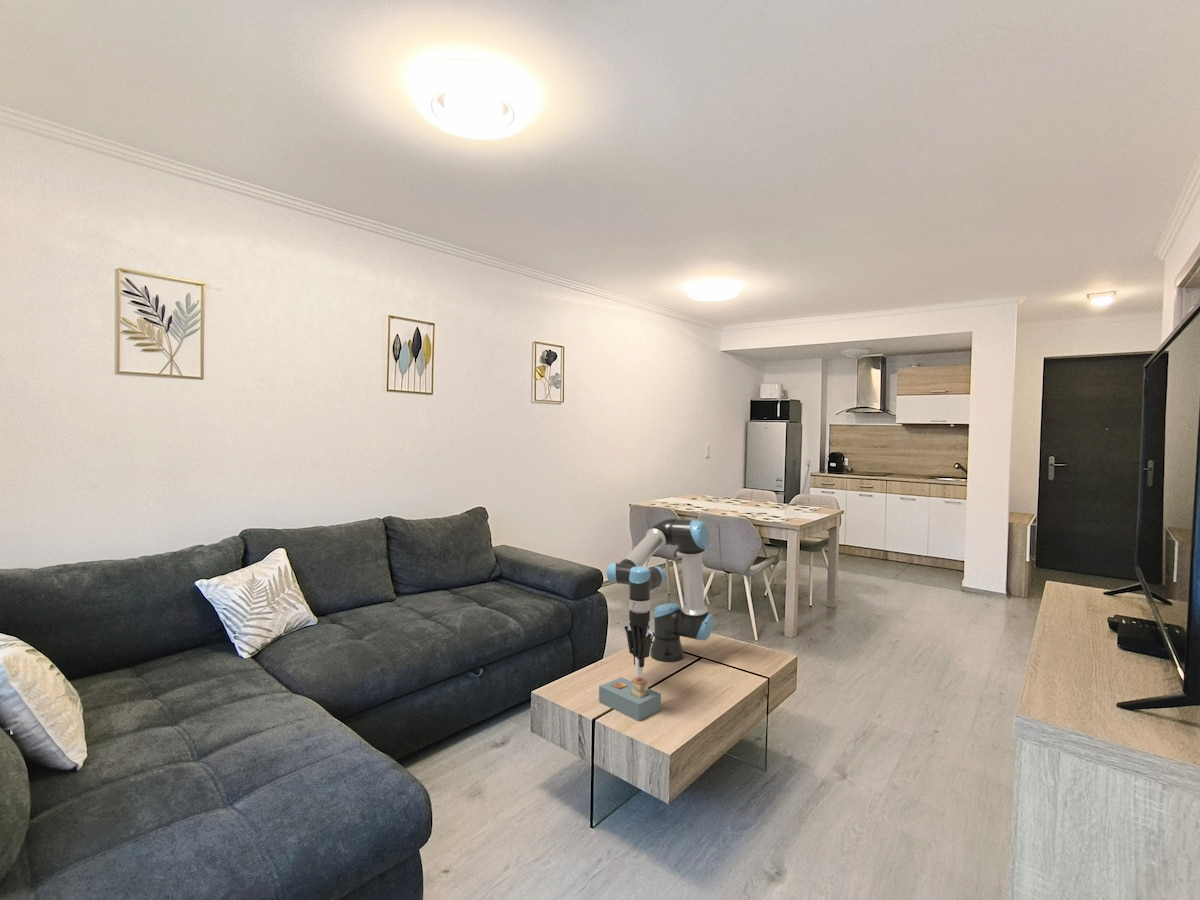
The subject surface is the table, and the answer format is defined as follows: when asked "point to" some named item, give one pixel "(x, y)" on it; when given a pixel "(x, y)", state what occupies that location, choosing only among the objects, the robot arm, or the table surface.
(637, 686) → the peg
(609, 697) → the socket block
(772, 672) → the table surface
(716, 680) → the table surface
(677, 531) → the robot arm
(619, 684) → the peg
